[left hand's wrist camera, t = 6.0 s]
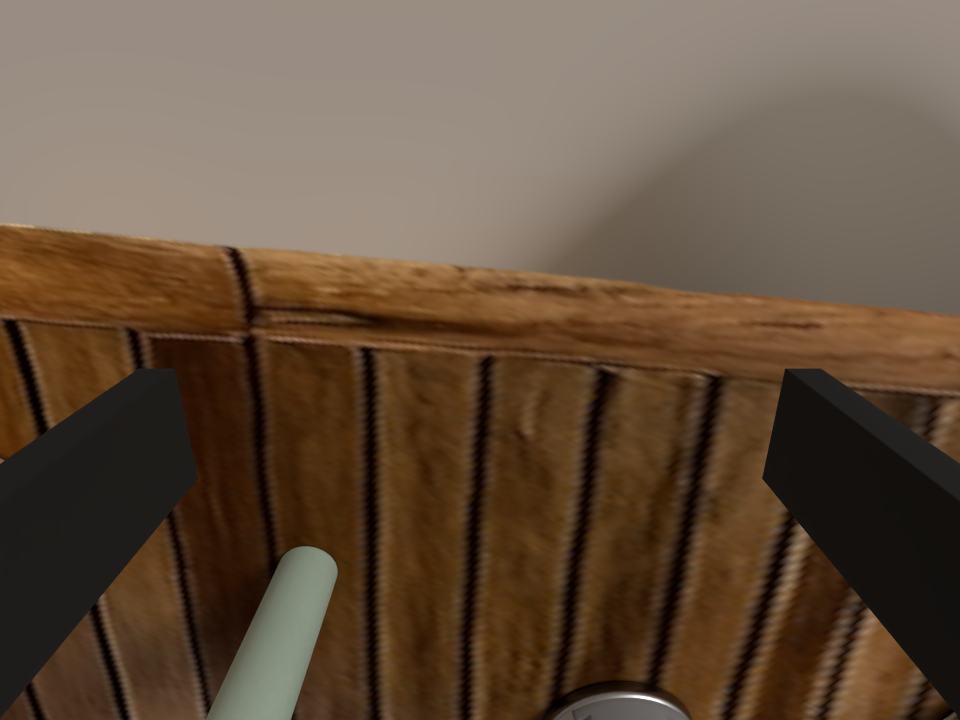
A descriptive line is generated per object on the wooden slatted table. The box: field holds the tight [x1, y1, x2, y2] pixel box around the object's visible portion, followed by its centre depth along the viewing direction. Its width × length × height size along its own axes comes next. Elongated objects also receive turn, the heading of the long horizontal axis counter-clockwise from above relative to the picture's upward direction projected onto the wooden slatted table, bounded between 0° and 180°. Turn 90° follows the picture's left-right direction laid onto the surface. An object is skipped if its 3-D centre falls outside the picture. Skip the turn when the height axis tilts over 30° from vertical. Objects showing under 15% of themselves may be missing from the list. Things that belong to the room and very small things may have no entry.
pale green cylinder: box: [206, 546, 338, 720], centre depth 40 cm, size 5×5×20 cm
